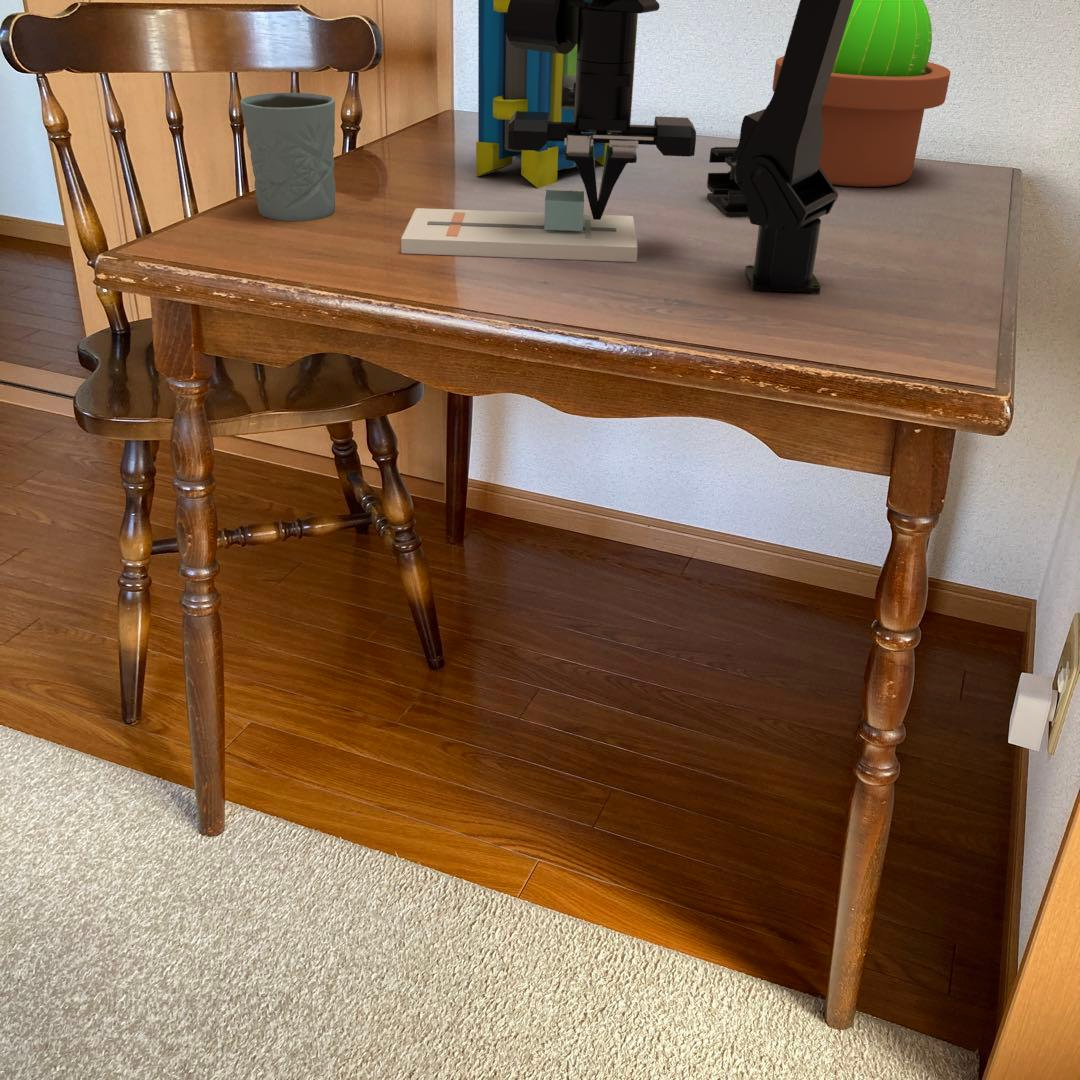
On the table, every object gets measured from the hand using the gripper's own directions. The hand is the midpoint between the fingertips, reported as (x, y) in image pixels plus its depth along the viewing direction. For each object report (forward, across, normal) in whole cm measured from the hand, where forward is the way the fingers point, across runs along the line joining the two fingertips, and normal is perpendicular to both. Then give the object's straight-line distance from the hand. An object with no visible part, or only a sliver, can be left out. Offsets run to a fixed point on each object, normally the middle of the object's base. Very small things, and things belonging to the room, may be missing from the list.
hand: (596, 218), depth 119 cm
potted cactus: (+3, -34, -38) cm, 51 cm away
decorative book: (+3, +6, -34) cm, 35 cm away
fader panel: (+3, +8, 0) cm, 8 cm away
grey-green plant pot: (+3, +34, -9) cm, 35 cm away
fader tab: (+1, +4, 0) cm, 4 cm away
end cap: (+3, -18, -18) cm, 26 cm away
